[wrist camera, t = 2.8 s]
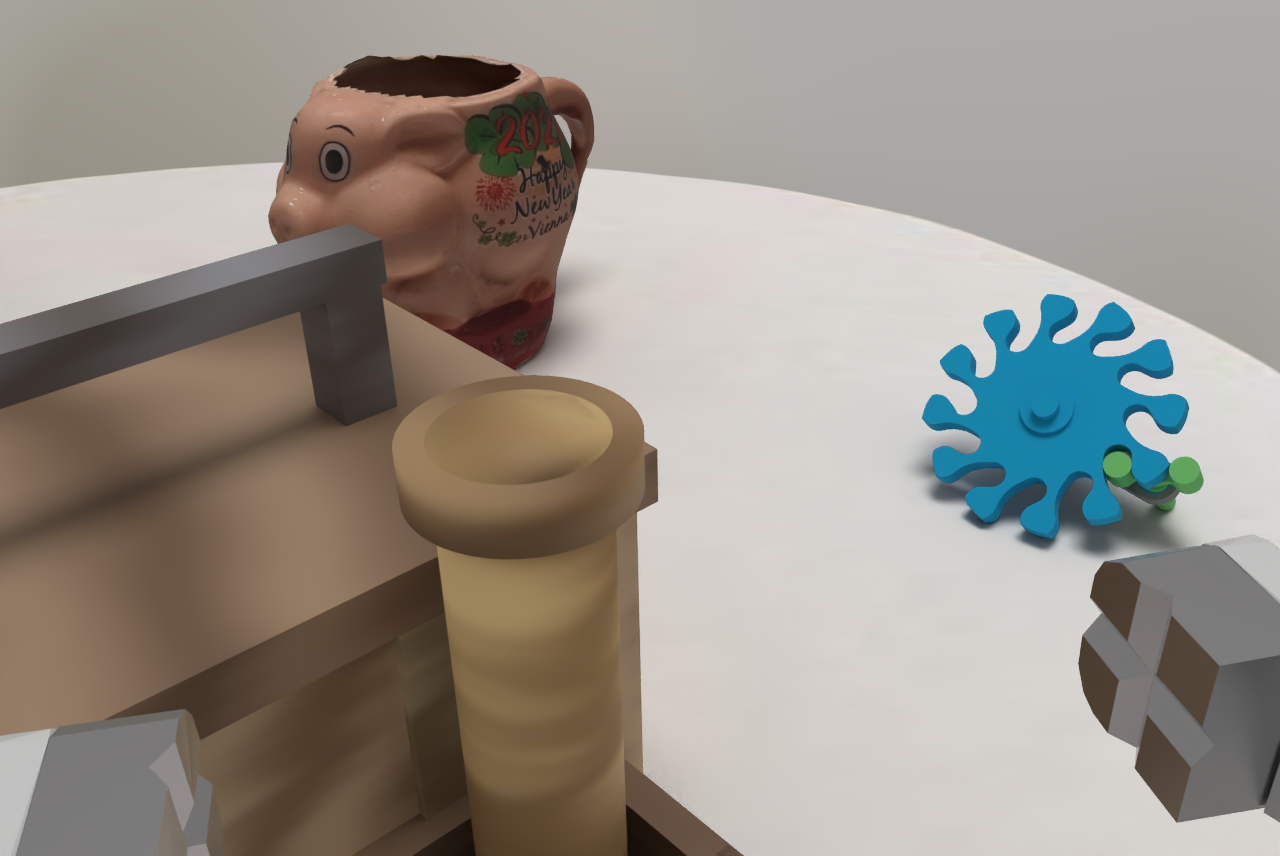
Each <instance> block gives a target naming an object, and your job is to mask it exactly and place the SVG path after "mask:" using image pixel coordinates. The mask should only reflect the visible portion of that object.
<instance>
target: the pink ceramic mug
mask: <svg viewBox="0 0 1280 856" xmlns="http://www.w3.org/2000/svg"><path fill="white" fill-rule="evenodd" d="M554 115H560V116H561V117H563V119H564V120H565V121H566V122H567V124H568V126H569V129H570V132H571V135H572V136H571V149H570V147H569V145H568V143H567V141H566V138H565V136H564V134H563V132H562V130H561V129H560V127H559V125H558V123H557V121H556V119H555V117H554ZM593 142H594V122H593V115H592V110H591V107H590V104H589V101H588V99H587V97H586V95H585V94H584V92H583V91H582V90H581V89H580V88H579V87H578V86H577V85H575V84H574V83H572V82H570V81H568V80H565V79H562V78H555V77H542V78H540V77H539V76H538V75H537V74H536V72H534V71H533V70H532V69H530V68H528V67H525V66H522V65H518V64H514V63H508V62H503V61H498V60H494V59H490V58H486V57H480V56H441V55H420V56H408V57H377V56H366V57H364V58H362V59H359V60H356V61H354V62H352V63H350V64H348V65H346V66H345V67H344V68H342V69H340V70H338V71H337V72H335V73H333V74H332V75H330V76H329V77H327V78H325V79H323V80H322V81H320V82H318V83H316V84H315V86H314V87H313V90H312V93H311V95H310V98H309V100H308V102H307V103H306V105H304V107H303V108H302V109H301V110H300V111H299V112H298V114H297V115H296V116H295V118H294V119H293V121H292V124H291V128H290V132H289V138H288V145H287V155H286V161H285V162H284V164H283V166H282V168H281V170H280V172H279V175H278V179H277V188H276V197H275V199H274V201H273V203H272V205H271V207H270V211H269V215H268V217H269V224H270V229H271V232H272V234H273V236H274V238H275V239H276V241H277V243H278V244H280V243H283V242H287V241H290V240H294V239H297V238H301V237H304V236H308V235H311V234H315V233H318V232H322V231H325V230H329V229H332V228H335V227H339V226H342V225H346V224H349V223H350V224H352V225H354V226H356V227H358V228H360V229H362V230H364V231H366V232H368V233H370V234H372V235H374V236H376V237H378V238H380V239H382V245H383V252H384V260H385V267H386V275H387V282H388V283H385V284H382V285H381V289H382V297H383V298H384V299H386V300H388V301H390V302H391V303H393V304H395V305H397V306H399V307H400V308H402V309H404V310H406V311H408V312H409V313H411V314H413V315H415V316H417V317H419V318H420V319H422V320H424V321H426V322H428V323H429V324H431V325H433V326H435V327H437V328H438V329H440V330H442V331H444V332H446V333H448V334H449V335H451V336H453V337H455V338H457V339H458V340H460V341H462V342H464V343H466V344H467V345H469V346H471V347H473V348H475V349H477V350H478V351H480V352H482V353H484V354H486V355H487V356H489V357H491V358H493V359H495V360H496V361H498V362H500V363H502V364H504V365H506V366H507V367H509V368H511V369H513V368H515V367H517V366H518V365H520V364H521V363H523V362H524V361H526V360H527V359H529V358H530V357H531V356H533V355H534V354H535V353H536V351H537V350H538V349H539V348H540V347H541V346H542V344H543V342H544V340H545V338H546V335H547V333H548V330H549V327H550V323H551V320H552V314H553V306H554V298H555V289H556V276H557V270H558V266H559V263H560V259H561V256H562V253H563V249H564V246H565V242H566V238H567V235H568V232H569V229H570V226H571V223H572V220H573V217H574V214H575V210H576V205H577V200H578V191H579V187H580V183H581V179H582V176H583V173H584V171H585V168H586V165H587V158H588V157H589V155H590V152H591V150H592V146H593Z"/></svg>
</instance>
